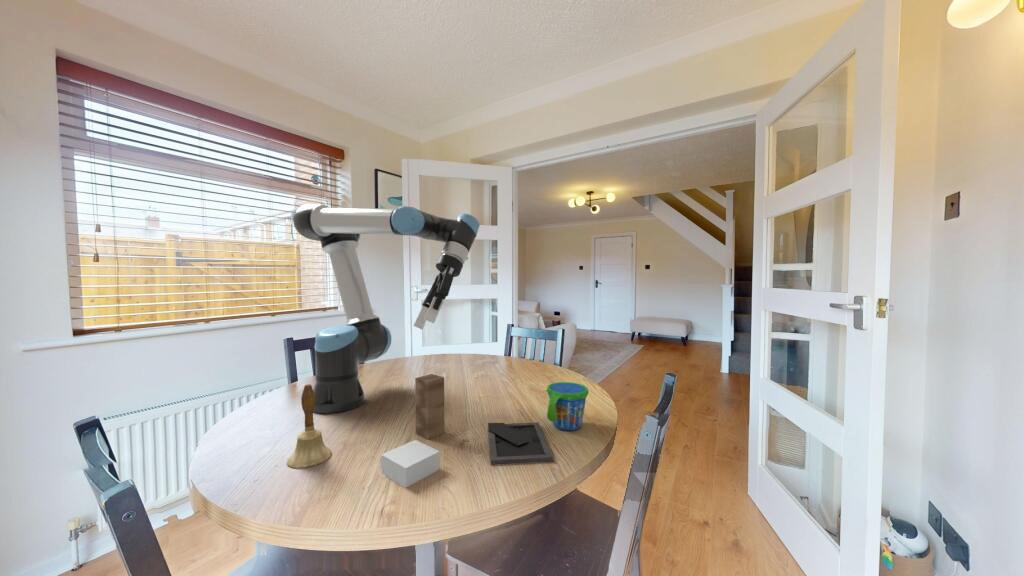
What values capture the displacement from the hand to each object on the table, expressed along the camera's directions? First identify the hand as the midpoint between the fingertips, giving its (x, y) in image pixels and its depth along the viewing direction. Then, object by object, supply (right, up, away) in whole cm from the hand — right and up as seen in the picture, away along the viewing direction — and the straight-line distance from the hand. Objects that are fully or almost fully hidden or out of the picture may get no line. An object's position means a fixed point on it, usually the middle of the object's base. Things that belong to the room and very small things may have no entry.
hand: (423, 324), depth 96 cm
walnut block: (+4, -26, -9) cm, 28 cm away
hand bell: (-19, -27, -21) cm, 39 cm away
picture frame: (+26, -27, -14) cm, 40 cm away
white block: (+4, -27, -26) cm, 38 cm away
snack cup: (+39, -26, -5) cm, 48 cm away
